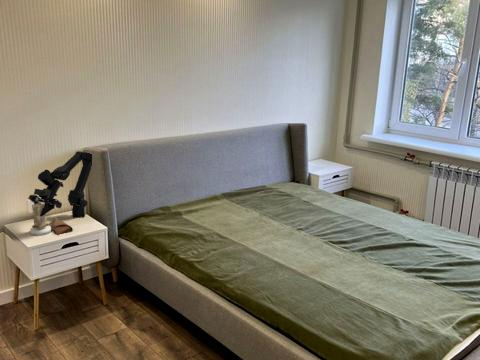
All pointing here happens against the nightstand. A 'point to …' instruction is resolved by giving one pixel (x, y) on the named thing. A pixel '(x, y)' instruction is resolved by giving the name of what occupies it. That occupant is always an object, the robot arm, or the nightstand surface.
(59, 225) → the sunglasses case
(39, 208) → the beige container
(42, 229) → the stand
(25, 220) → the nightstand surface
